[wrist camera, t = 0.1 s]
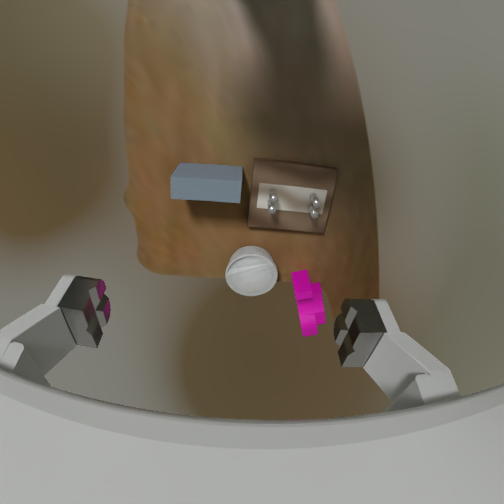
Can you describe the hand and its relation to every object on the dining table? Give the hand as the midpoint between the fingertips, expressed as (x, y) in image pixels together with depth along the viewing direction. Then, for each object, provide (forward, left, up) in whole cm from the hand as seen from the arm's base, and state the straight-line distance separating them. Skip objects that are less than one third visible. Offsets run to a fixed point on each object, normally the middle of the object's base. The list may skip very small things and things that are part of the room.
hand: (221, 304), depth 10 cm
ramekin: (+33, +5, -48) cm, 59 cm away
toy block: (+42, +20, -48) cm, 67 cm away
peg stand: (+16, +11, -48) cm, 52 cm away
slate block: (+13, -5, -48) cm, 50 cm away
